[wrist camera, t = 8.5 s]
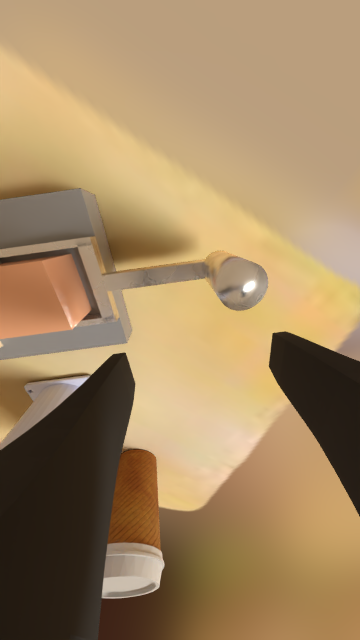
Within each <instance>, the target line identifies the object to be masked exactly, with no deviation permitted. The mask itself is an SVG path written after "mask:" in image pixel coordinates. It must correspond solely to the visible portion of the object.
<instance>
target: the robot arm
mask: <svg viewBox="0 0 360 640" xmlns="http://www.w3.org/2000/svg"><path fill="white" fill-rule="evenodd" d="M269 367H270V369H271V371H272V373H273V375H274V377H275V379H276V381H277V383H278V385H279V386H280V388H281V389H282V390H283V392H284V393H285V395H286V396H287V398H288V399H289V401H290V402H291V403H292V405H293V406H294V408H295V409H296V410H297V411H298V413H299V415H300V416H301V417H302V419H303V420H304V421H305V423H306V424H307V426H308V427H309V429H310V430H311V432H312V433H313V435H314V436H315V438H316V439H317V441H318V442H319V444H320V446H321V447H322V449H323V451H324V453H325V454H326V456H327V458H328V460H329V461H330V463H331V465H332V466H333V468H334V470H335V472H336V473H337V475H338V477H339V478H340V481H341V483H342V484H343V486H344V488H345V490H346V492H347V493H348V495H349V497H350V499H351V501H352V502H353V504H354V506H355V508H356V510H357V512H358V514H359V516H360V362H359V361H357V360H354V359H352V358H349V357H347V356H344V355H342V354H339V353H337V352H334V351H332V350H330V349H327V348H325V347H323V346H320V345H318V344H315V343H313V342H311V341H308V340H306V339H304V338H301V337H299V336H296V335H294V334H291V333H288V332H278V333H273V336H272V344H271V353H270V361H269ZM24 388H25V390H26V392H27V393H28V394H29V396H30V397H31V399H32V400H33V403H32V404H31V405H30V407H29V408H28V409H27V410H26V412H25V413H24V414H23V415H22V417H21V418H20V419H19V420H18V422H17V423H16V424H15V425H14V427H13V428H12V429H11V430H10V432H9V433H8V434H7V435H6V437H5V438H4V439H3V441H2V442H1V443H0V640H98V630H99V619H100V609H101V599H102V589H103V579H104V569H105V561H106V552H107V544H108V535H109V527H110V520H111V513H112V505H113V498H114V491H115V485H116V478H117V472H118V466H119V461H120V456H121V452H122V447H123V443H124V439H125V435H126V431H127V427H128V423H129V419H130V415H131V410H132V406H133V400H134V392H135V381H134V378H133V375H132V372H131V368H130V365H129V362H128V359H127V356H126V353H119V354H113V355H112V356H111V357H110V358H108V359H107V360H106V361H105V362H104V363H103V364H102V365H101V366H100V367H99V368H98V369H97V370H96V371H95V372H94V373H93V374H92V375H91V376H90V375H86V376H78V377H70V378H63V379H55V380H47V381H40V382H32V383H27V384H26V385H25V386H24Z"/></svg>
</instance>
